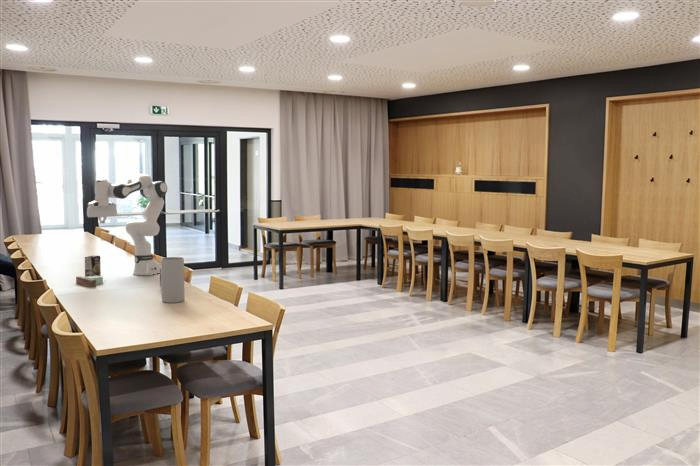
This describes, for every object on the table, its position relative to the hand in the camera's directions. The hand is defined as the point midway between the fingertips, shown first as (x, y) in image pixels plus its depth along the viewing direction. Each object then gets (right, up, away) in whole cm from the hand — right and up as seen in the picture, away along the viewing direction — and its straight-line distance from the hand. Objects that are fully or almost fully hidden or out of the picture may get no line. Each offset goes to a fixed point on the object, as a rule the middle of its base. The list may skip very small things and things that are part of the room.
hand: (102, 223), depth 413 cm
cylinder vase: (+66, -47, -61) cm, 101 cm away
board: (-4, -41, -16) cm, 44 cm away
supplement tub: (+54, -43, -24) cm, 73 cm away
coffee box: (-9, -39, +5) cm, 40 cm away
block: (-1, -41, -12) cm, 42 cm away
